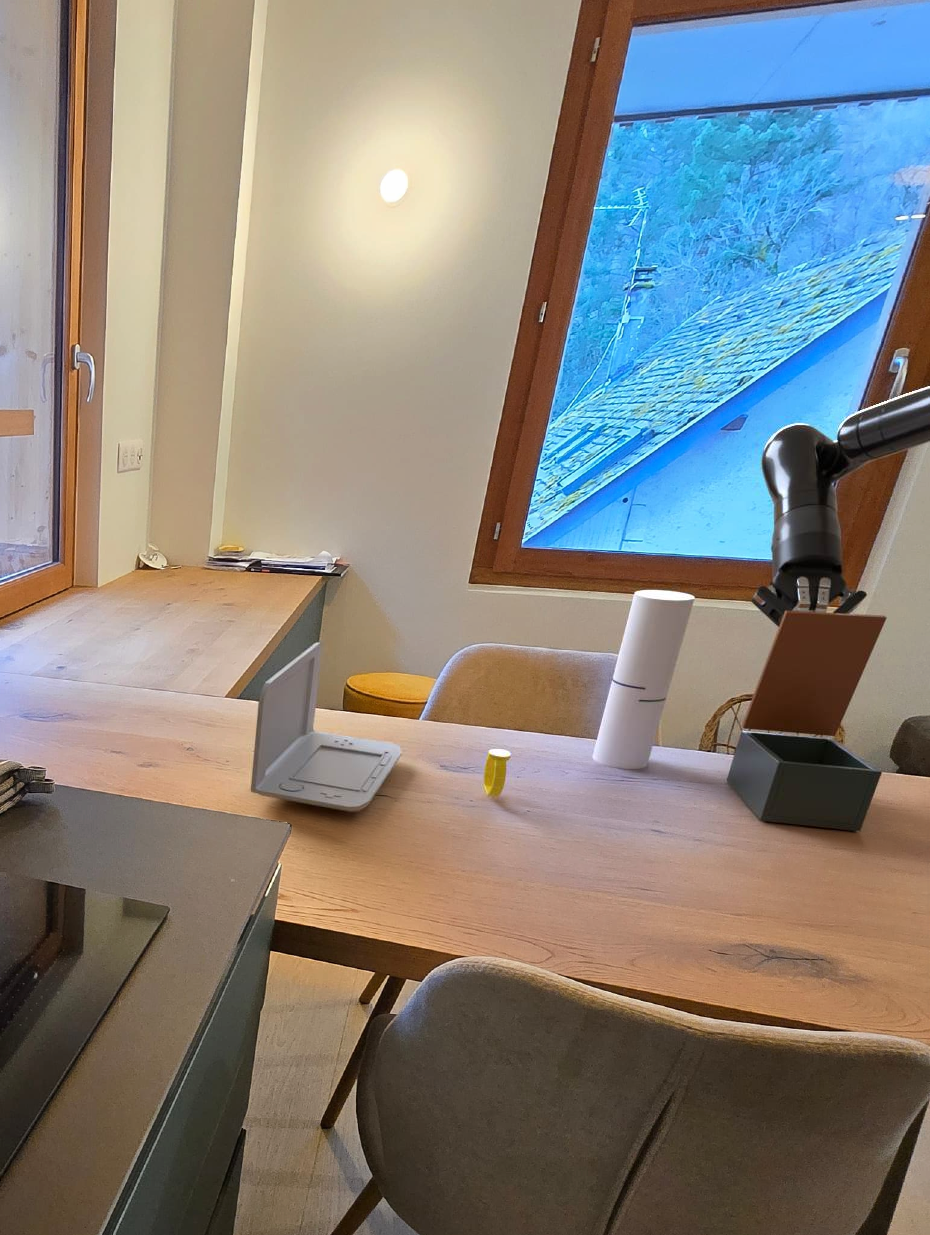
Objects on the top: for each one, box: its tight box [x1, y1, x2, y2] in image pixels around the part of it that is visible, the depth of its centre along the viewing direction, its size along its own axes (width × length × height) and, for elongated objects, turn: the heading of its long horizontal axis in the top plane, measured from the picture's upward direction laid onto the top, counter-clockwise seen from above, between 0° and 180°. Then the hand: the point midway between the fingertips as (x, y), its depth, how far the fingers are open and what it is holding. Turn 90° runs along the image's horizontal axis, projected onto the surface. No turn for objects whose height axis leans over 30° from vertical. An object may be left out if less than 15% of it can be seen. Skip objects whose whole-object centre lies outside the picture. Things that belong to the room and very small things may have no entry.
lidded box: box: [726, 730, 883, 832], centre depth 126 cm, size 16×11×8 cm
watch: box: [483, 748, 512, 797], centre depth 130 cm, size 6×3×6 cm, turn 167°
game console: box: [250, 641, 403, 813], centre depth 134 cm, size 28×15×15 cm, turn 149°
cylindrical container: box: [592, 589, 695, 770], centre depth 138 cm, size 7×7×25 cm
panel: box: [741, 611, 888, 737], centre depth 127 cm, size 16×11×1 cm
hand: (809, 650), depth 128 cm, fingers closed
